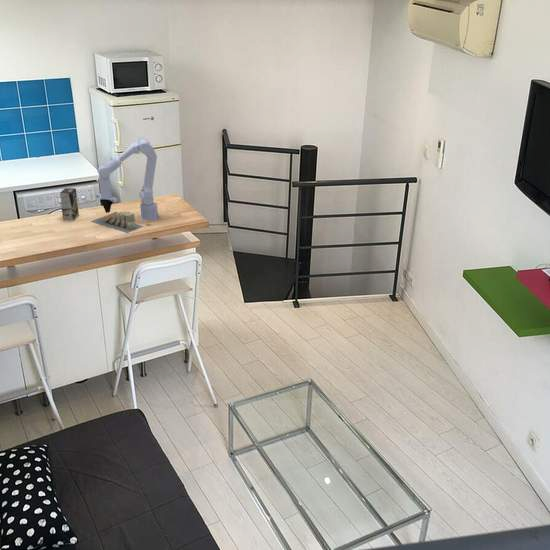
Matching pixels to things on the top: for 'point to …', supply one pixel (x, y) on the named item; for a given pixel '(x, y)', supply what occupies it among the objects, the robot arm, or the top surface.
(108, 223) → the slate mat
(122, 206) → the top surface
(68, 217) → the coffee box
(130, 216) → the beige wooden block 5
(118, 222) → the grey wooden block
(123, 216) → the wooden block
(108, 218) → the terracotta tile
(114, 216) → the grey wood block
